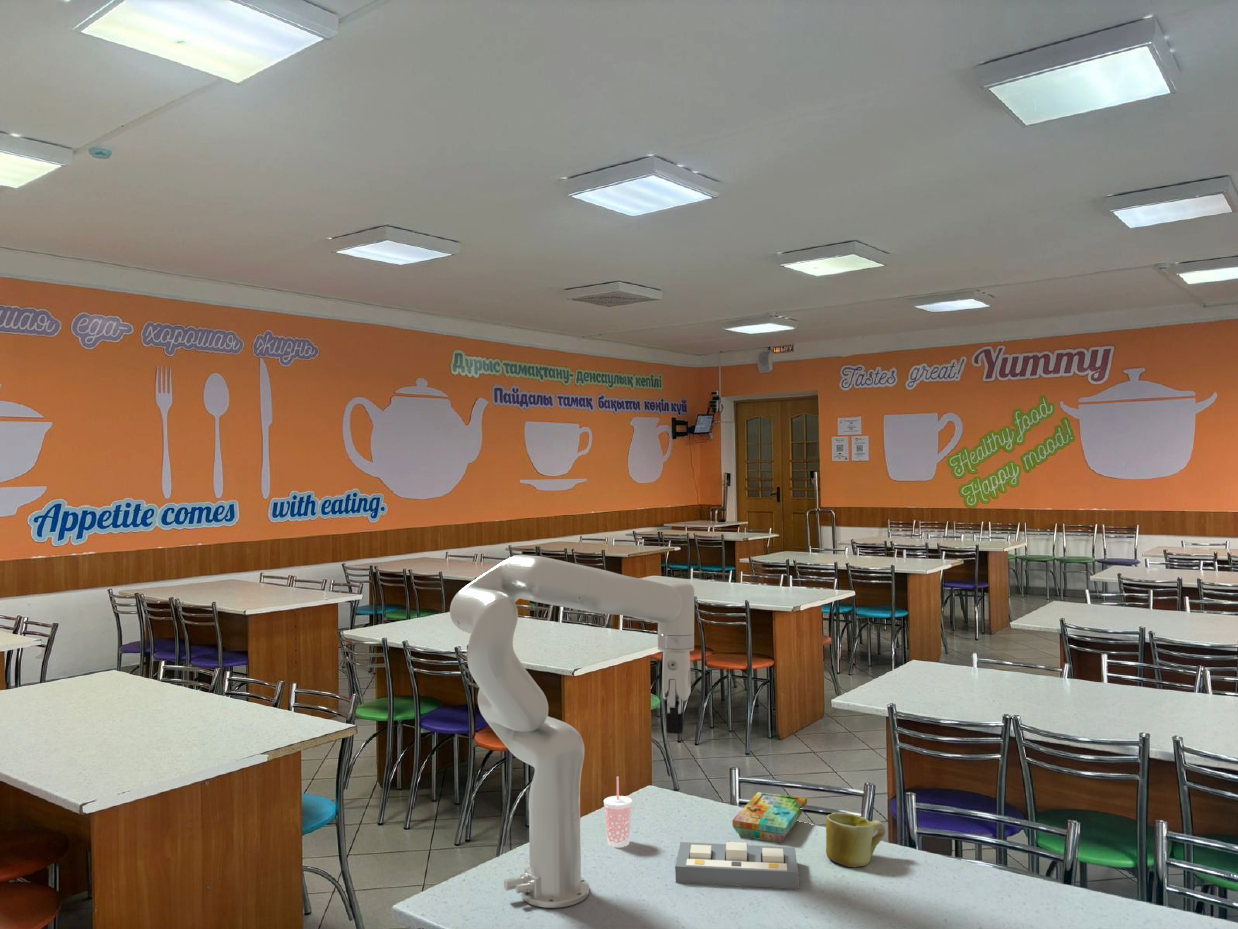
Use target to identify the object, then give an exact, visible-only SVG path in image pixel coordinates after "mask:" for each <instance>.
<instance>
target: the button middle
mask: <svg viewBox="0 0 1238 929" xmlns="http://www.w3.org/2000/svg"><path fill="white" fill-rule="evenodd" d="M725 844H726V861H745V862H747V845H748V842H740V841H739V842H738V841H737V842H736V841H726V843H725Z"/></svg>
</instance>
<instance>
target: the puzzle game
mask: <svg viewBox="0 0 1238 929" xmlns="http://www.w3.org/2000/svg"><path fill="white" fill-rule="evenodd" d="M797 805H800V806H797ZM807 805H808V798H806V797H799V796H792V795H785V794H784V795H783V794H776V793H768V792H760V791H758V792H756V794H755V795H753V797H752V798H751V799H750V800H749V801H748V802H747V803H746V804H745V805H744V806H743V808H742V809H741V810H740V811H739V812H738V813H737V814H736V815H735V816H734V818H732V828H733V829H734V830H735V832H736V833H737V834H738V836H740V835H741V836H740V837H747V838H750V839H751V838H752V839H759V840H765V841H772V842H777V843H778V842H779V843H783V841H784V840H785V839H786V837H787V835H788V834H789V833H790V832H791V830H792V828H793V827H794V826H795V824H796V823H797V822H798V820H799V818H800V817H801V815H803V812H804V809H803V810H801V809H800V808H802V807H805V808H806V807H807ZM801 806H802V807H801Z"/></svg>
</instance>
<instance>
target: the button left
mask: <svg viewBox="0 0 1238 929" xmlns="http://www.w3.org/2000/svg"><path fill="white" fill-rule="evenodd" d="M690 859H704V860H712V853H711V845H691V849H690Z"/></svg>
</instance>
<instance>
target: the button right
mask: <svg viewBox="0 0 1238 929" xmlns="http://www.w3.org/2000/svg"><path fill="white" fill-rule="evenodd" d="M762 860H763V862H765V863H784V855H783V849H778V848H762Z"/></svg>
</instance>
